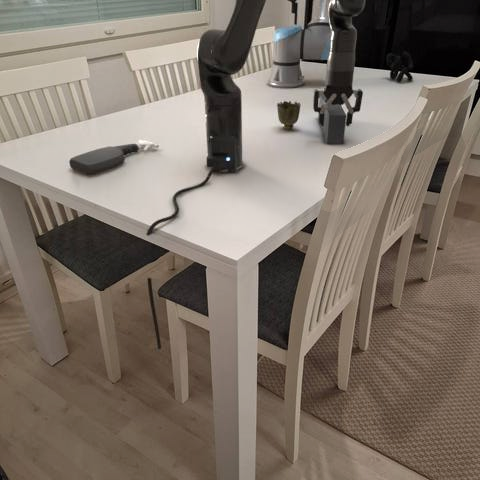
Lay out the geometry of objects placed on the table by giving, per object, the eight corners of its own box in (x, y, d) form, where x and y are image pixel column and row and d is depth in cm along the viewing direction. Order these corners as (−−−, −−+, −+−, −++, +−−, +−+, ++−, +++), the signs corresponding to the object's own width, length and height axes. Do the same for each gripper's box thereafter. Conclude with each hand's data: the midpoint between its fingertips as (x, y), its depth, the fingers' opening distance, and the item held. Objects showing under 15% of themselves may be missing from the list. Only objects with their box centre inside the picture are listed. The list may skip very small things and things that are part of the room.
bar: (343, 144, 132) (346, 115, 128) (326, 144, 133) (329, 115, 128) (332, 118, 154) (334, 92, 150) (318, 118, 154) (320, 93, 150)
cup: (272, 130, 144) (273, 105, 139) (281, 123, 149) (282, 99, 145) (294, 133, 141) (295, 108, 136) (302, 126, 146) (304, 102, 142)
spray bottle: (67, 168, 120) (139, 144, 136) (91, 178, 114) (163, 151, 130) (65, 157, 118) (137, 134, 134) (89, 167, 112) (162, 142, 128)
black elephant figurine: (400, 92, 202) (376, 71, 205) (417, 76, 202) (392, 56, 205) (405, 81, 191) (380, 59, 194) (423, 64, 191) (397, 42, 194)
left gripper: (315, 70, 122) (311, 129, 130) (369, 70, 121) (361, 129, 130) (313, 65, 128) (309, 121, 137) (363, 64, 127) (356, 121, 136)
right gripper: (358, -51, 143) (350, 22, 155) (280, -50, 145) (278, 23, 156) (362, -52, 137) (354, 24, 148) (281, -50, 138) (279, 25, 150)
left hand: (334, 125), depth 133 cm, fingers open, 7 cm apart
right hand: (315, 24), depth 152 cm, fingers open, 13 cm apart
